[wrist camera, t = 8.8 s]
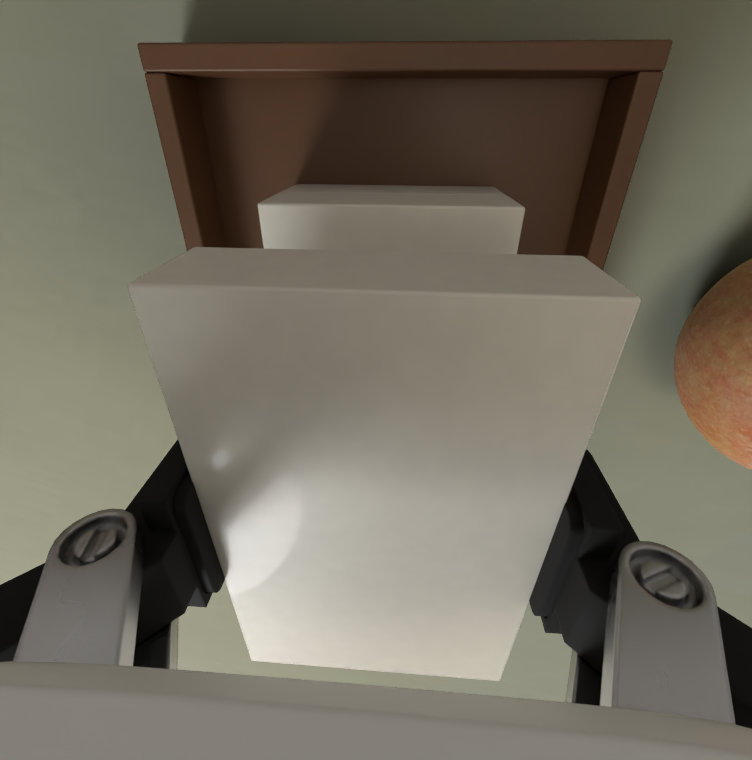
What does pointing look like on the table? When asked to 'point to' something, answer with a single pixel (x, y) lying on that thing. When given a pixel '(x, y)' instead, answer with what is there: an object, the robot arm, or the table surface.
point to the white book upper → (391, 222)
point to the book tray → (406, 127)
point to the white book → (382, 438)
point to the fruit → (720, 365)
